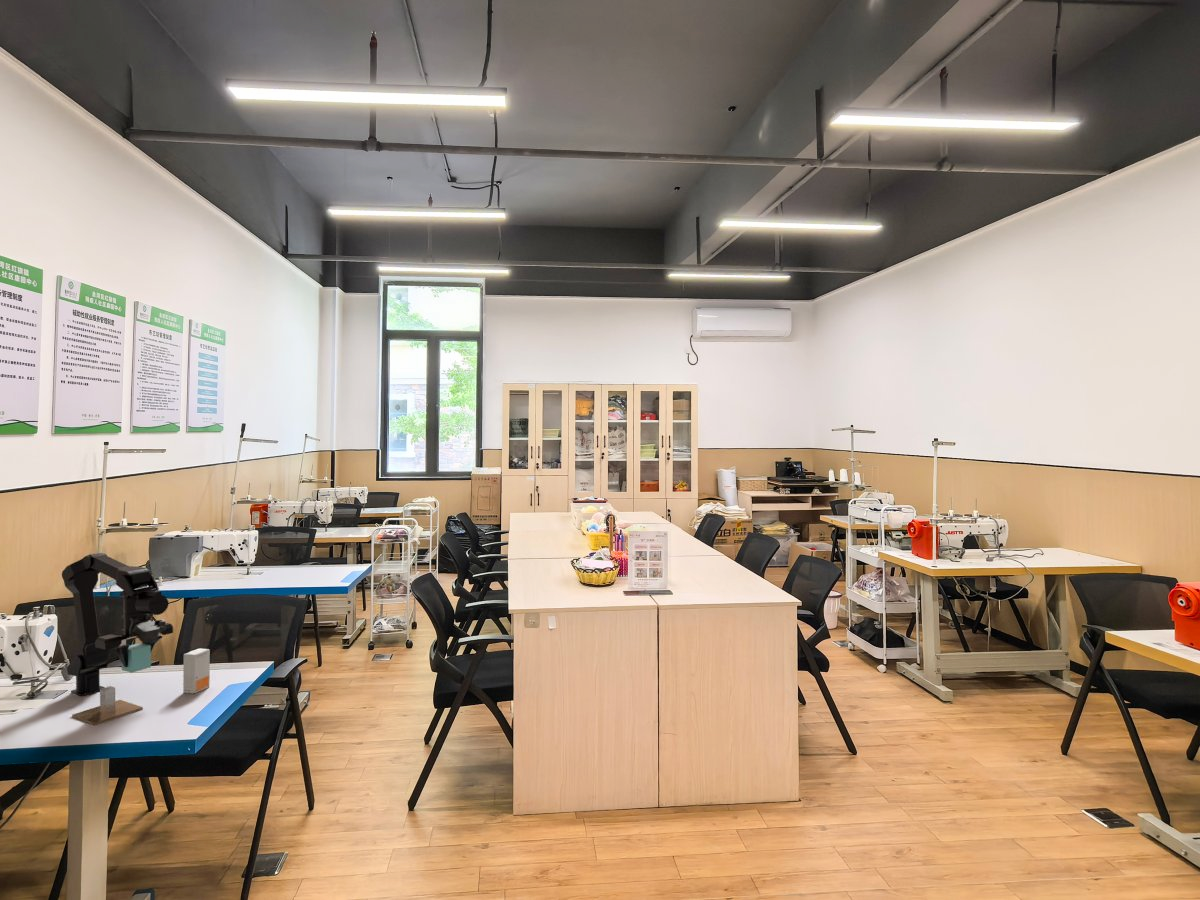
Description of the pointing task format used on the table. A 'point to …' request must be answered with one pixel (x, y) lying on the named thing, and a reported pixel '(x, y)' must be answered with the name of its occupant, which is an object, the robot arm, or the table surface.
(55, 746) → the table surface
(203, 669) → the skincare box
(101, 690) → the brown square base plate
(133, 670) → the teal rectangular block
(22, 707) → the table surface
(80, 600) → the robot arm
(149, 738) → the table surface
